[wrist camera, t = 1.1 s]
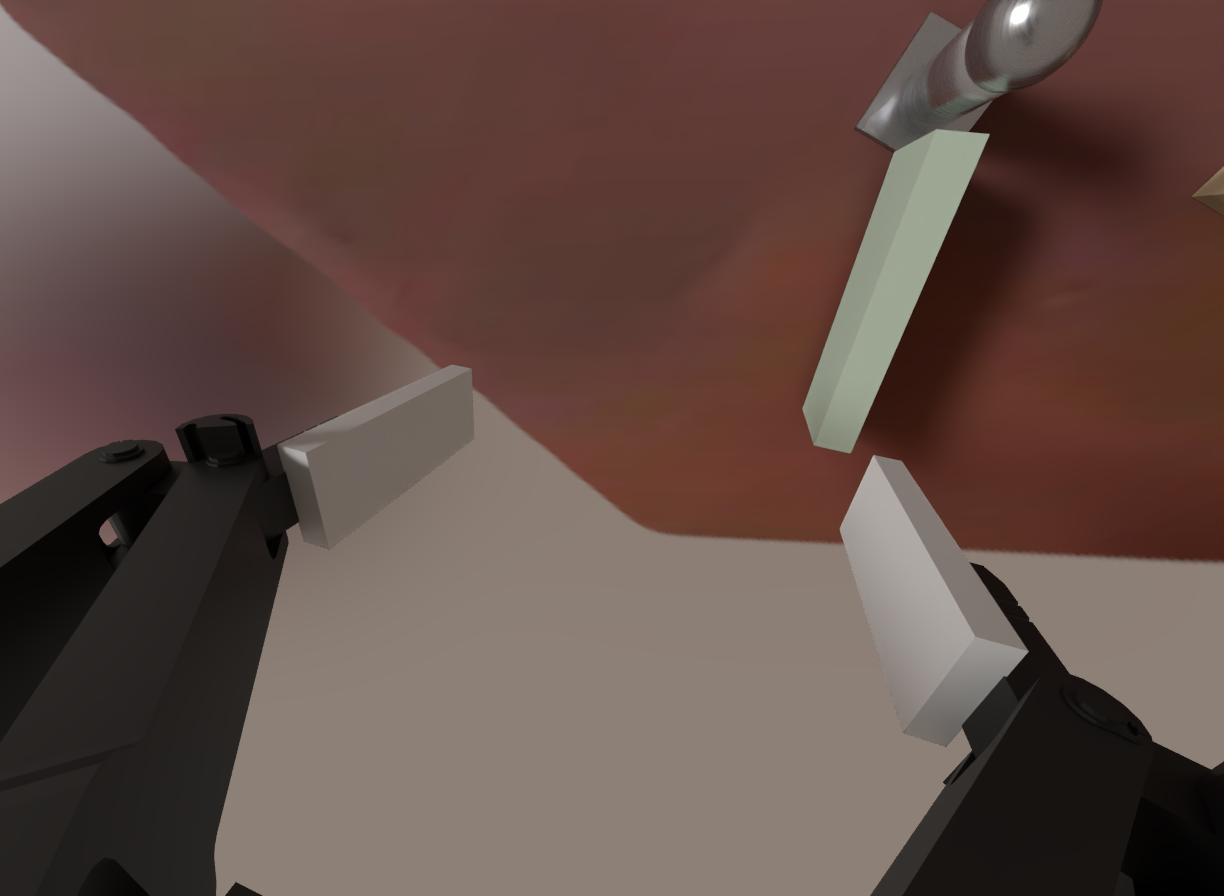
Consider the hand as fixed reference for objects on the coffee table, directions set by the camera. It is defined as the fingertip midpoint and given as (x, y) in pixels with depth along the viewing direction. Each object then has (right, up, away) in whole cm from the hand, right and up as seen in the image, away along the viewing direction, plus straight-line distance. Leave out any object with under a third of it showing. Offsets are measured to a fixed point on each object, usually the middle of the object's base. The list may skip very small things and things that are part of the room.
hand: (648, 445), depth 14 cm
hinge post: (+15, +18, +8) cm, 25 cm away
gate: (+14, +9, +12) cm, 21 cm away
